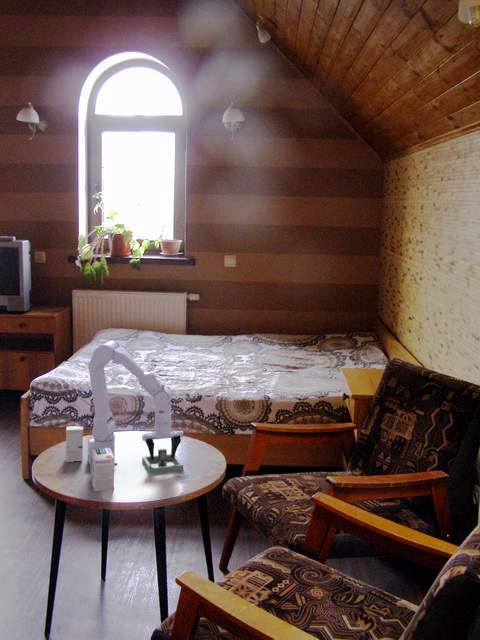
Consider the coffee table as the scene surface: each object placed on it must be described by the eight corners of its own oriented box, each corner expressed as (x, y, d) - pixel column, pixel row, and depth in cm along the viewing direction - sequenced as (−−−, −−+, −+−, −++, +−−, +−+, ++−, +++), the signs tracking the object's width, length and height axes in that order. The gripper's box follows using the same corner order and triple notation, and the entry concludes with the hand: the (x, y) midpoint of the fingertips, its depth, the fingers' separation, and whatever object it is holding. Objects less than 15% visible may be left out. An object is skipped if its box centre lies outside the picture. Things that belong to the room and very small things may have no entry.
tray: (149, 474, 228) (149, 468, 228) (142, 462, 239) (142, 456, 239) (183, 470, 233) (183, 465, 232) (174, 458, 244) (174, 453, 243)
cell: (159, 468, 234) (159, 451, 233) (157, 465, 237) (157, 448, 236) (167, 467, 235) (167, 450, 234) (165, 464, 238) (165, 447, 237)
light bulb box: (90, 479, 222) (90, 448, 221) (110, 477, 225) (110, 447, 223) (93, 491, 213) (93, 459, 211) (114, 489, 215) (115, 458, 213)
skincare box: (65, 462, 237) (65, 430, 235) (65, 458, 241) (65, 426, 239) (83, 461, 238) (83, 429, 236) (83, 457, 242) (83, 425, 240)
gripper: (145, 426, 227) (145, 463, 229) (185, 423, 232) (185, 459, 234) (141, 420, 234) (140, 456, 236) (180, 417, 239) (179, 453, 241)
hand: (162, 457), depth 236 cm, fingers open, 7 cm apart
